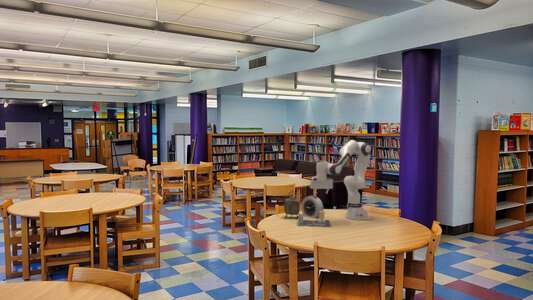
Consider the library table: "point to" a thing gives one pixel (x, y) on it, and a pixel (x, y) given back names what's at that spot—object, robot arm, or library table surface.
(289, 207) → the tabletop clock
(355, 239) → the library table surface
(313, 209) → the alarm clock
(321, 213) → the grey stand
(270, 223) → the library table surface
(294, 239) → the library table surface
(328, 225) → the gauge bed
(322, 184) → the robot arm
